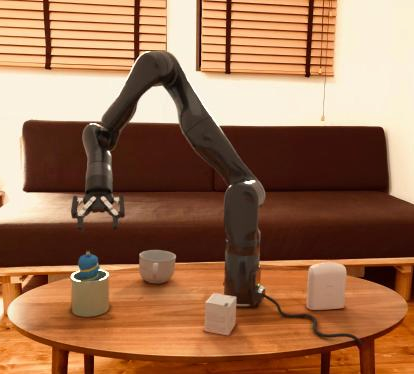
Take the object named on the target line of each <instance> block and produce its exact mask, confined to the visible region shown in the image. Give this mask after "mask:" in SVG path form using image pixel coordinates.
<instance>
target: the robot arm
mask: <svg viewBox="0 0 414 374" xmlns="http://www.w3.org/2000/svg"><path fill="white" fill-rule="evenodd" d="M154 87H163V88H164V90H166V92H167V93H168V95H169V96H170V98H171V99H172V101H173V102H174V105H175V108H176V113H177V119H178V125H179V128H180V132H181V133H182V135H183V137H184V138H185V140H186V141H187V143H188V144H189V145H190V147H191V148H192V150H193V151H194V152H195V153H196V154H197V156H199V157H200V158H201V159H202V160H204V162H206V163H207V164H208V165H209V166H210V167H212V168H213V169H214V170H215V171H216V172H217V173H218V174H219V176H220V177H221V178H222V179H223V181H224V183H225V184H226V186H227V189H226V191H225V193H224V198H223V229H224V232H225V247H224V248H225V249H224V250H225V251H224V273H223V274H224V277H223V283H222V284H223V285H222V286H223V295H228V296H234V297H236V308H255V307H256V305H257V304H258V303H260V304H261V303H262V302H263V300H264V299H266V300H267V301H270V302H271V303H273V304H274V305H275V307H276V309H277V311H278V314H280V315H281V316H283V317H285V318H304V317H305V318H309V319H310V320H312V321H313V324H312V330H313V332H314V333H315V334H316V335H317V336H319V337H322V338H327V339H330V338H331V339H333V338H350V339H352V340H354V341H356V343H358V344H360V345H362V344H363V342H362V340H361V339H360V338H359V337H357V336H356V335H354V334H353V333H352V334H351V333H347V332H345V333H344V332H340V333H323V332H320V331H319V330H318V329H317V324H318V319H316V317H315V316H314V315H312V314H309V313H293V314H290V313H286V312H284V311H282V309H281V306H280V304H279V302H278V301H276V300H275V299H274V298H272V297H271V296H269V295H268V294H266V286H262V285H261V280H262V279H261V277H262V266H261V265H260V256H261V240H262V239H261V237H262V231H261V229H260V228H259V210H260V209H262V207H263V206H264V205H265V202H266V190H265V188H264V186H263V184H262V183H261V182H260V181H259V180H258V178H257V177H256V176H255V175H254V174H253V172H252V171H251V170H250V169H249V167H248V166H247V165H246V164H245V163H244V162H243V160H242V159H241V157H240V156H239V155H238V153H237V151H236V149H234V147H233V145H232V143H231V142H230V140H229V139H228V138H227V136H226V134H225V133H224V131H223V130H222V128H221V127H220V125H219V123H218V122H217V120H215V118H214V116H213V114H211V112H210V111H209V110H208V108H207V107H206V106H205V104H204V102H203V100H202V99H201V97H200V96H199V95H198V93H197V92H196V90H195V89H194V87H193V85H192V84H191V82H190V80H189V78H188V76H187V75H186V73H185V71H184V69H183V67H182V65H181V64H180V62H179V60H178V59H177V57H176V55H174V54H173V53H171V52H170V51H167V50H149V51H145V52H143V53H141V54H140V55H139V56H138V57H137V59H136V60H135V62H134V64H133V66H132V68H131V70H130V72H129V74H128V76H127V78H126V80H125V82H124V84H123V86H122V88H121V89H120V92H119V94H118V95H117V96H116V97H115V99H114V100H113V102H112V103H111V104H110V106H109V107H108V108H107V109H106V111H105V112H104V113H103V114H102V117H101V120H100V121H101V122H100V123H101V124H97V123H89V124H87V125H86V126H85V127H84V129H83V131H82V143H83V147H84V150H85V154H86V158H87V164H86V165H87V167H86V172H85V186H84V188H85V189H84V196H83V197H78V196H77V195H74V196H72V202H71V207H70V209H71V210H70V215H71V219H73V220H74V219H76V220H77V221H76V222H77V223H76V228H77V230H78V231H79V232H80V233H84V219H85V218H86V217H87V216H89V215H90V213H92V214H97V213H101V214H104V213H105V212H106V213H107V214H108V215H109V216H111V218H112V232H116V230H118V228H119V219H120V218H121V219H123V218H125V217H126V214H125V213H126V212H125V211H126V209H125V199H124V195H122V194H120V195H119V196H117V197H114V194H113V188H114V187H113V186H114V185H113V182H114V178H113V174H114V173H113V156H112V153H111V152H112V151H113V150H115V149H116V147H117V145H118V143H119V139H120V137H121V135H122V133H123V131H124V129H125V128H126V126H127V125H128V124H129V123H130V121H132V119H133V118H134V117H135V115H136V112H137V108H138V103H139V101H140V99H141V98H142V97H143V95H145V93H147V92H148V91H149V90H150V89H152V88H154ZM82 203H83V204H84V205H83V206H82V208H81V209H80V210H79V211H78V208H79V206H81V204H82ZM115 203H116V205H117V206H119V211H117V210H116V209H115V207H114V206H113V205H114V204H115Z"/></svg>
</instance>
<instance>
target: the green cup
mask: <svg viewBox="0 0 414 374" xmlns="http://www.w3.org/2000/svg"><path fill="white" fill-rule="evenodd" d="M98 275H99V279H98V280H96V281H82V279H81V277H80V270H78V271H75V272H73V273H72V274H71V275H70V308H71V312H72V314H73V315H75V316H78V317H84V318H90V317H97V316H100V315H104V314H105V313H106V312H108V311H109V310H110V273H109V272H108V271H107V270H104V269H99V272H98Z"/></svg>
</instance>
